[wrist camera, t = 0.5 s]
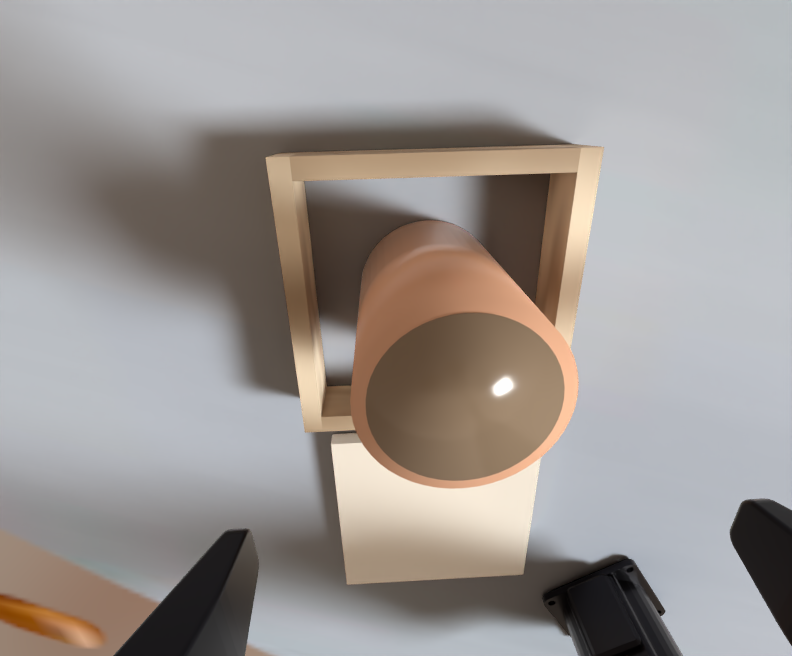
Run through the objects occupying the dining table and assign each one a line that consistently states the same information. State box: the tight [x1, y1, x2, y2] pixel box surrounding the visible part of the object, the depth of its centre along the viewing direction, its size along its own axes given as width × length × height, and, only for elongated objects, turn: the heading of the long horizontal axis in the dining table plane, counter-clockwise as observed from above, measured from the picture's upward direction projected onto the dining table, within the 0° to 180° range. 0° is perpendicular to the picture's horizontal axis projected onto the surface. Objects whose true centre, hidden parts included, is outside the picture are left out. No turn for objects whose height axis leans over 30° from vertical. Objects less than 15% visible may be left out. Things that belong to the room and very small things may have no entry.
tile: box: [331, 433, 541, 585], centre depth 25 cm, size 11×11×1 cm
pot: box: [350, 220, 579, 489], centre depth 15 cm, size 6×6×9 cm
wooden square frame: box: [265, 144, 604, 432], centre depth 18 cm, size 12×12×2 cm
